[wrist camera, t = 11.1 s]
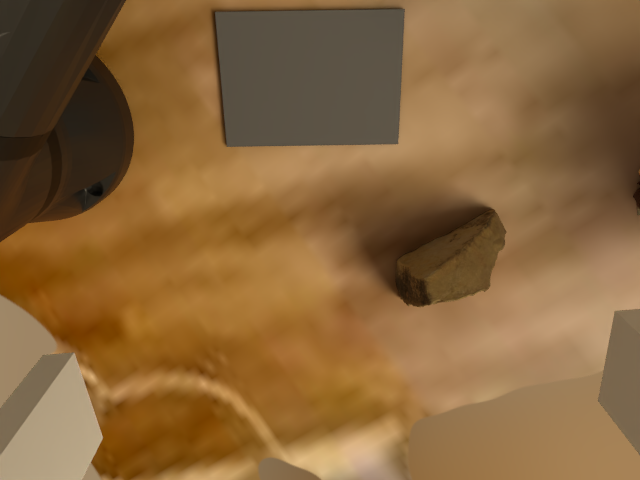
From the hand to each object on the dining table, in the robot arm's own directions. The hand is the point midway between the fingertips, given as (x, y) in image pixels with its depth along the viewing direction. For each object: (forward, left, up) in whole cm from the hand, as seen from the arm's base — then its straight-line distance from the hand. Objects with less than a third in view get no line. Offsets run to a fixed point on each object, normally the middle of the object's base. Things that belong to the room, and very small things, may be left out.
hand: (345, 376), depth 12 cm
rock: (+11, -11, -31) cm, 34 cm away
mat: (-1, +4, -31) cm, 31 cm away
